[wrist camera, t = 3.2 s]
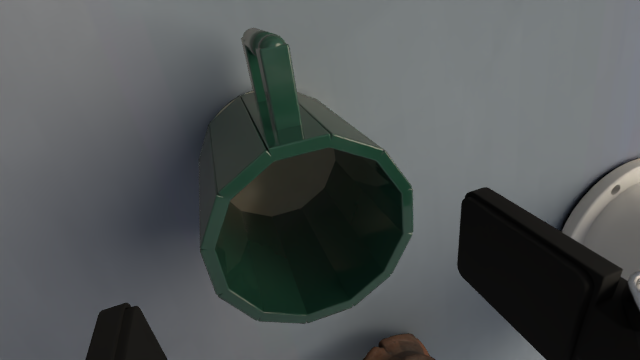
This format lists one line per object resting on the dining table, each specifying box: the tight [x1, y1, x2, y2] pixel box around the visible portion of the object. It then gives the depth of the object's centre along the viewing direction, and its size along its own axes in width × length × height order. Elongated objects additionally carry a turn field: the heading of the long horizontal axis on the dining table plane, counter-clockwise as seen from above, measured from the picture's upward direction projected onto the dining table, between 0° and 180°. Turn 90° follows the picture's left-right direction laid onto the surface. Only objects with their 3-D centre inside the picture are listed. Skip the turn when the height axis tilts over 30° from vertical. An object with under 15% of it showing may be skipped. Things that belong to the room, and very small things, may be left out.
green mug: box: [199, 28, 413, 324], centre depth 15 cm, size 10×7×8 cm
